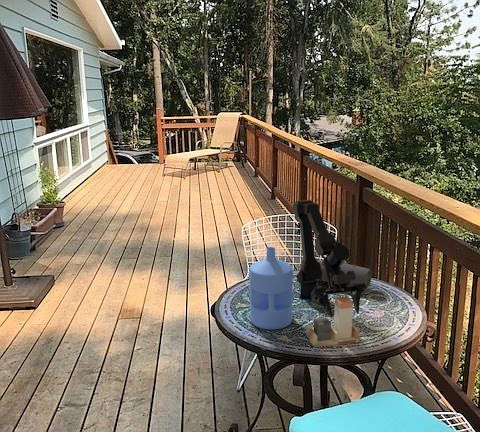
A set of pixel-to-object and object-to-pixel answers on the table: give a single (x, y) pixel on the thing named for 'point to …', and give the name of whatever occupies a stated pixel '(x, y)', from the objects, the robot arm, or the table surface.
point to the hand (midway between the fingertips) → (344, 315)
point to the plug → (343, 317)
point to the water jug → (271, 292)
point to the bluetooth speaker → (360, 272)
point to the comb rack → (328, 334)
